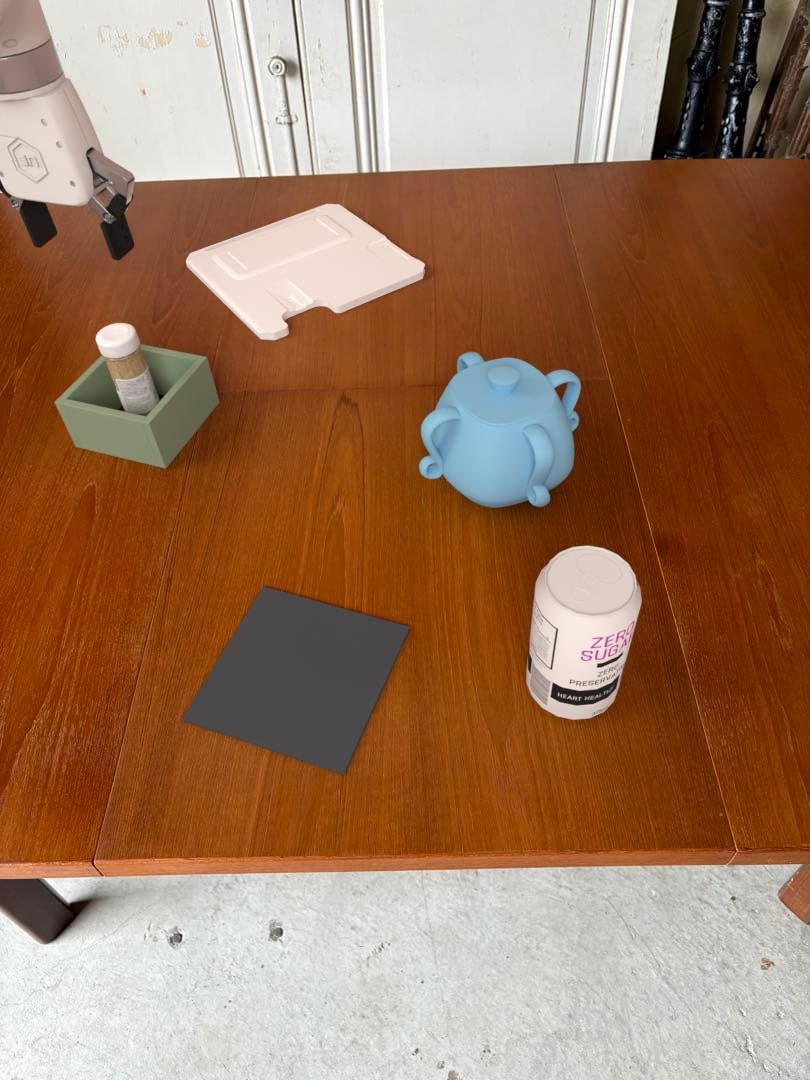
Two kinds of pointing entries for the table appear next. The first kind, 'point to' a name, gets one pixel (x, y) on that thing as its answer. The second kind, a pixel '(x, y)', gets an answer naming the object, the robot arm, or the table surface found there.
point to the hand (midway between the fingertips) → (84, 247)
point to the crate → (136, 436)
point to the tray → (303, 268)
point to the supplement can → (581, 631)
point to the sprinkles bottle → (128, 368)
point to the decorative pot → (502, 431)
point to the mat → (299, 679)
